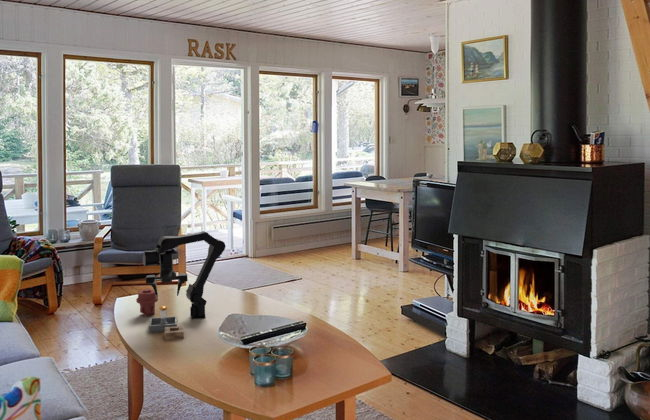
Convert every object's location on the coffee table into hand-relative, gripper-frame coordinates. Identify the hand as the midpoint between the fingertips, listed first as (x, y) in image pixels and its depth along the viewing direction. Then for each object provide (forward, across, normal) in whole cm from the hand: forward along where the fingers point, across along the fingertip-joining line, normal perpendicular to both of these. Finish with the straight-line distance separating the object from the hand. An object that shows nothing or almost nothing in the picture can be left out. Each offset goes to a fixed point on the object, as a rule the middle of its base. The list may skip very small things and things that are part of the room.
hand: (167, 296), depth 278 cm
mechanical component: (+12, -10, +13) cm, 20 cm away
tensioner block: (+12, +3, -22) cm, 25 cm away
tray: (+12, -2, -9) cm, 15 cm away
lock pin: (+11, -2, -9) cm, 15 cm away
